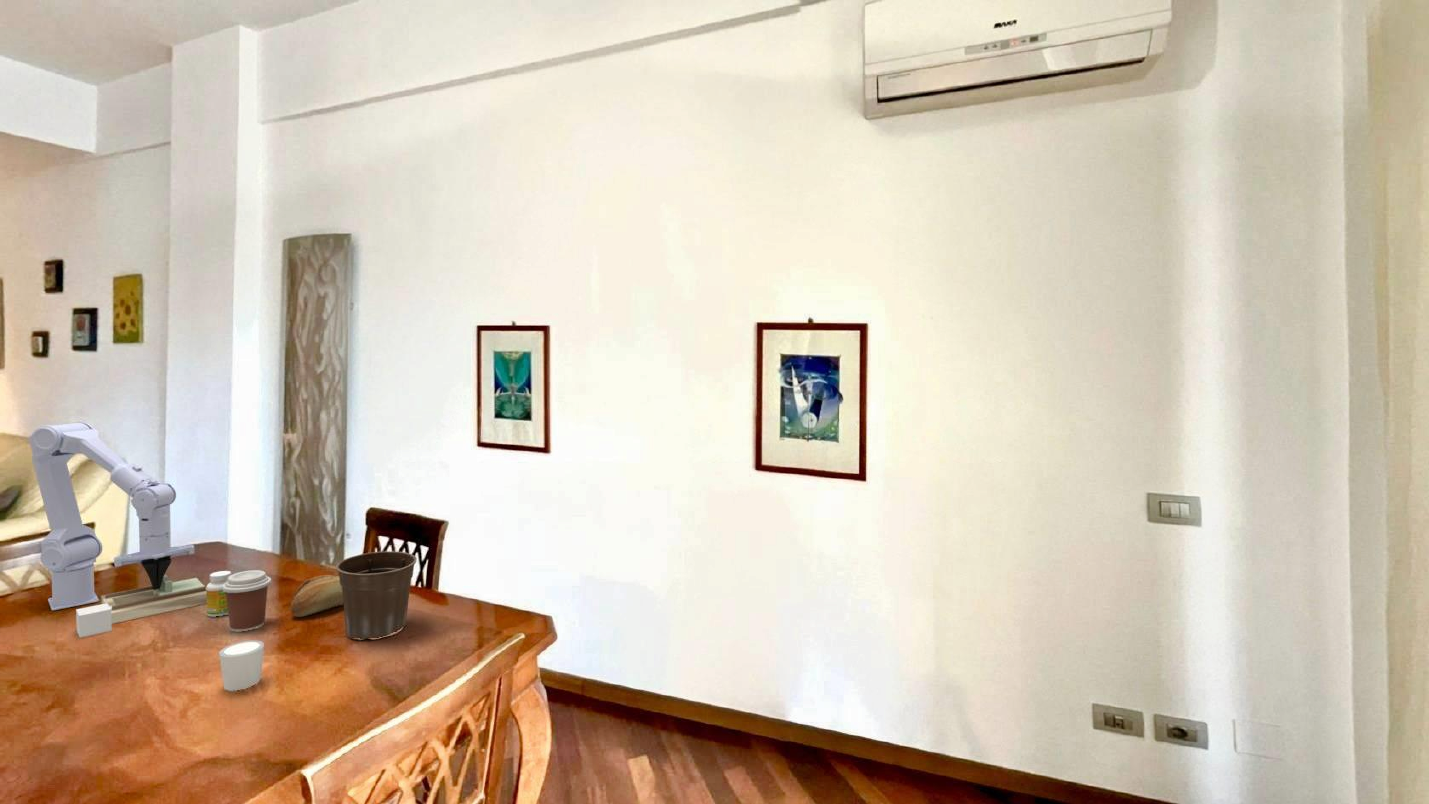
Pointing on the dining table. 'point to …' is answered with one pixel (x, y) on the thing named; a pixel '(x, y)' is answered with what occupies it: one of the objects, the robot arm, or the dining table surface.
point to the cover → (177, 586)
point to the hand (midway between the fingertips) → (156, 588)
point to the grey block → (93, 620)
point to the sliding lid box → (150, 602)
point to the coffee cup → (246, 599)
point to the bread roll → (317, 595)
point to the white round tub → (241, 664)
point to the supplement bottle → (217, 594)
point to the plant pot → (375, 592)
